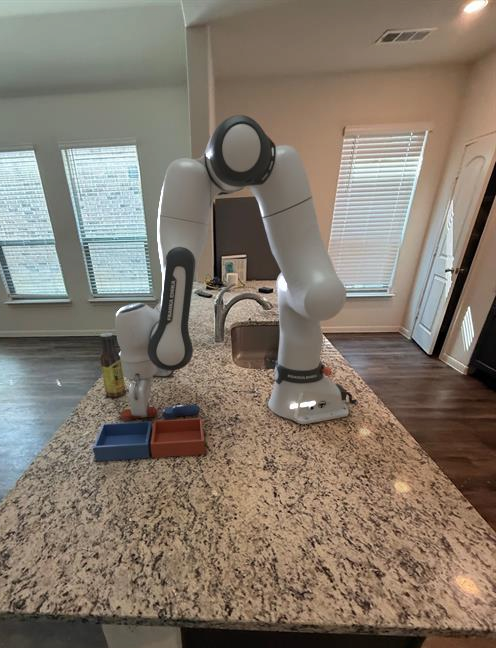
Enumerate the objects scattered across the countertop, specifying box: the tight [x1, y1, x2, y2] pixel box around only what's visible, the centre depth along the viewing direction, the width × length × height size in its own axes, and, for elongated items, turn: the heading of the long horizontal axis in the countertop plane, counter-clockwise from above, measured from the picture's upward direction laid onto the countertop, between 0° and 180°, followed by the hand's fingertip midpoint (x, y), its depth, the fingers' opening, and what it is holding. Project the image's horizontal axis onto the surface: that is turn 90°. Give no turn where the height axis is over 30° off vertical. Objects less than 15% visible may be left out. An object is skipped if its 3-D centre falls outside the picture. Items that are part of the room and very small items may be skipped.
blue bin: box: [92, 420, 153, 462], centre depth 76 cm, size 12×10×4 cm
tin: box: [153, 366, 176, 378], centre depth 111 cm, size 15×3×8 cm, turn 80°
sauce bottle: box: [99, 332, 126, 398], centre depth 97 cm, size 6×6×20 cm
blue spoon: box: [163, 403, 201, 420], centre depth 89 cm, size 10×4×3 cm, turn 94°
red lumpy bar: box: [120, 406, 159, 422], centre depth 88 cm, size 10×4×3 cm, turn 94°
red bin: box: [150, 417, 206, 459], centre depth 77 cm, size 12×10×4 cm
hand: (145, 411), depth 88 cm, fingers closed on red lumpy bar, 3 cm apart
